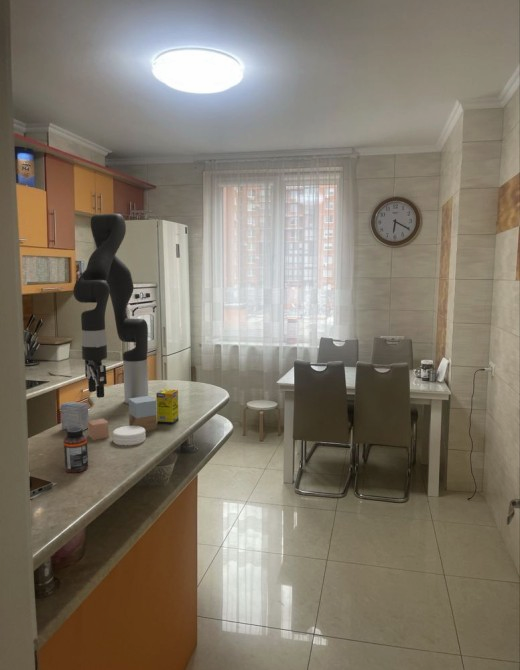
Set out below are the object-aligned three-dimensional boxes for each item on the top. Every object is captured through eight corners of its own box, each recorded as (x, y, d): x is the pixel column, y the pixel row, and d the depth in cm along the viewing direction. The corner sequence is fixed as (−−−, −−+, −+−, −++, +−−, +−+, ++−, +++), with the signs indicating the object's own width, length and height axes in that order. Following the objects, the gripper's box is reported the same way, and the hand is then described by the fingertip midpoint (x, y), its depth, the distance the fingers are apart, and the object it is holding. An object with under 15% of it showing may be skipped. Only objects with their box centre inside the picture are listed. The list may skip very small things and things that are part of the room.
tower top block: (129, 413, 179) (128, 398, 178) (148, 409, 182) (148, 395, 182) (136, 418, 173) (135, 403, 172) (156, 414, 177) (156, 400, 176)
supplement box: (173, 424, 182) (172, 393, 180) (156, 423, 183) (155, 392, 181) (179, 419, 188) (178, 389, 186) (163, 418, 189) (162, 388, 187)
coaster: (106, 443, 164) (105, 432, 163) (126, 433, 173) (126, 423, 172) (132, 448, 160) (132, 437, 159) (152, 438, 169) (151, 427, 168)
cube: (88, 436, 171) (87, 421, 170) (103, 433, 173) (103, 418, 173) (93, 440, 166) (92, 425, 166) (108, 437, 169) (108, 422, 168)
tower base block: (129, 427, 179) (128, 413, 178) (149, 423, 183) (148, 409, 182) (136, 433, 173) (136, 418, 173) (156, 429, 177) (156, 414, 176)
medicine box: (89, 428, 178) (88, 403, 177) (81, 432, 174) (80, 406, 173) (70, 425, 181) (69, 401, 180) (61, 429, 177) (60, 404, 175)
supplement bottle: (68, 465, 146) (66, 425, 145) (90, 464, 147) (88, 425, 145) (62, 473, 141) (60, 433, 139) (85, 473, 141) (83, 432, 139)
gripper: (75, 342, 169) (78, 391, 172) (88, 348, 158) (91, 401, 160) (99, 340, 173) (101, 388, 176) (113, 345, 162) (115, 397, 164)
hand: (96, 394), depth 168 cm, fingers open, 8 cm apart
